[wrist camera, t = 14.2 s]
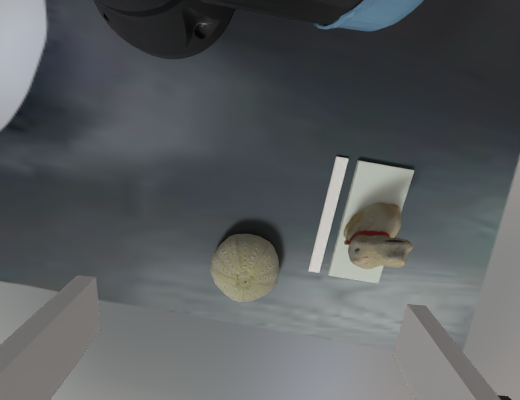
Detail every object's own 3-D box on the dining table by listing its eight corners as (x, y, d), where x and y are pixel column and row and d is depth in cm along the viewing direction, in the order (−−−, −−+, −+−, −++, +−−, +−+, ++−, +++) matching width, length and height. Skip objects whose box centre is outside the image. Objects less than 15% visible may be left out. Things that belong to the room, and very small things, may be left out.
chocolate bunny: (335, 208, 38) (360, 240, 28) (397, 199, 37) (444, 228, 27) (339, 247, 39) (364, 290, 29) (399, 238, 39) (444, 279, 29)
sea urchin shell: (288, 236, 37) (281, 300, 33) (277, 255, 44) (270, 310, 40) (218, 222, 37) (202, 285, 33) (217, 243, 44) (204, 298, 40)
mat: (357, 160, 36) (359, 160, 36) (412, 169, 37) (414, 170, 36) (327, 273, 41) (328, 275, 40) (376, 281, 41) (377, 283, 40)
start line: (336, 156, 36) (336, 156, 36) (347, 158, 36) (348, 158, 36) (308, 269, 41) (308, 271, 40) (318, 271, 41) (319, 272, 40)
